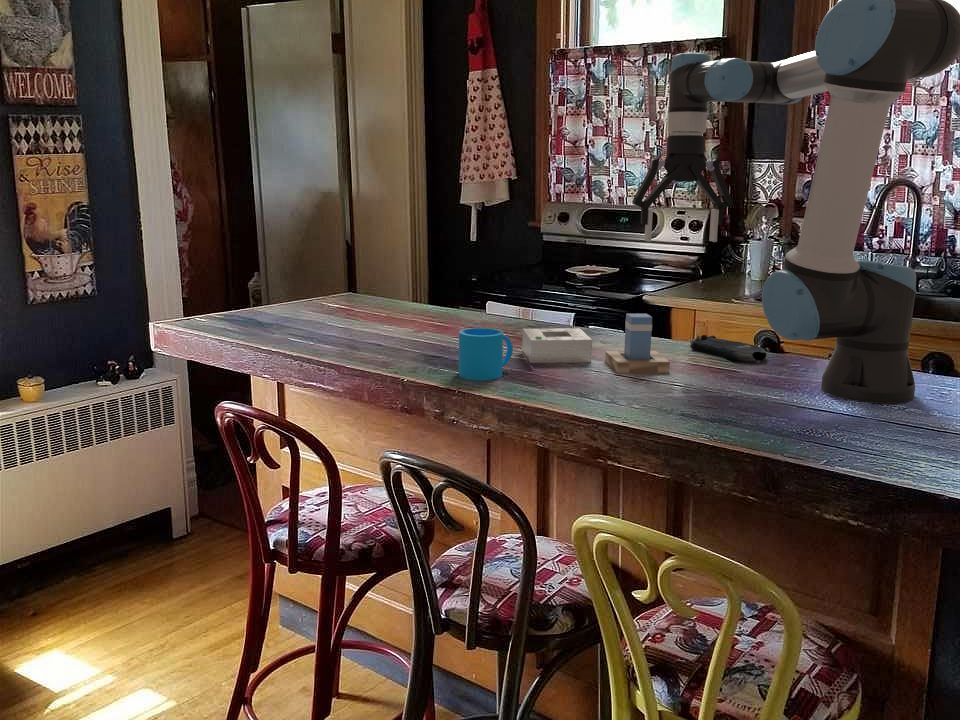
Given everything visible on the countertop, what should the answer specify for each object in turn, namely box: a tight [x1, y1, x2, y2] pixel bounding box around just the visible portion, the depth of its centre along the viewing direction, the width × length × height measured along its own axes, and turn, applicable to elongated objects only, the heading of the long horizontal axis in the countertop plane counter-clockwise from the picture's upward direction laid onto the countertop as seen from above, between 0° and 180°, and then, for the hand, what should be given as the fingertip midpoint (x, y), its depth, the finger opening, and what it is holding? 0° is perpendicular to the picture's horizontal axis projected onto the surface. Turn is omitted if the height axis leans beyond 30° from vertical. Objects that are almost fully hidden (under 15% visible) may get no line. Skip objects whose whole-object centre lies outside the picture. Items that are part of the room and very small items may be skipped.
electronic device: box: [689, 334, 767, 364], centre depth 189 cm, size 9×6×15 cm
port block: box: [521, 327, 593, 366], centre depth 184 cm, size 12×12×5 cm
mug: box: [458, 327, 514, 381], centre depth 171 cm, size 12×8×8 cm
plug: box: [623, 313, 653, 360], centre depth 176 cm, size 4×4×10 cm
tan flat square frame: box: [604, 350, 671, 374], centre depth 176 cm, size 10×10×2 cm
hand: (680, 241), depth 188 cm, fingers open, 13 cm apart
